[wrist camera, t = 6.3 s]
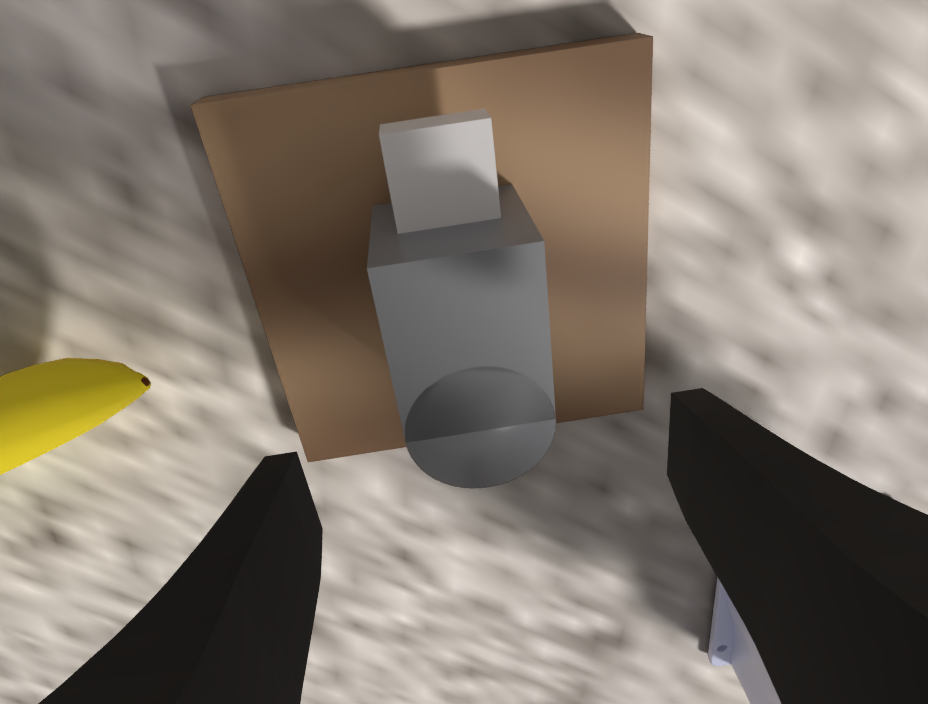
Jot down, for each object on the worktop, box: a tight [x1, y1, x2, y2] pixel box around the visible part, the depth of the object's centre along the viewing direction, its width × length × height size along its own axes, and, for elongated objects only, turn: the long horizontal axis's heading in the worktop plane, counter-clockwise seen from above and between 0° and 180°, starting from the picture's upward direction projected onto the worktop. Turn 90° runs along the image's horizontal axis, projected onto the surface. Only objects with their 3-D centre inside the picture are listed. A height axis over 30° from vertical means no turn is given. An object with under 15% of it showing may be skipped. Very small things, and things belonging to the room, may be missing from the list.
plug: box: [367, 109, 556, 488], centre depth 17 cm, size 9×4×4 cm, turn 7°
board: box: [191, 33, 653, 462], centre depth 20 cm, size 12×12×1 cm
